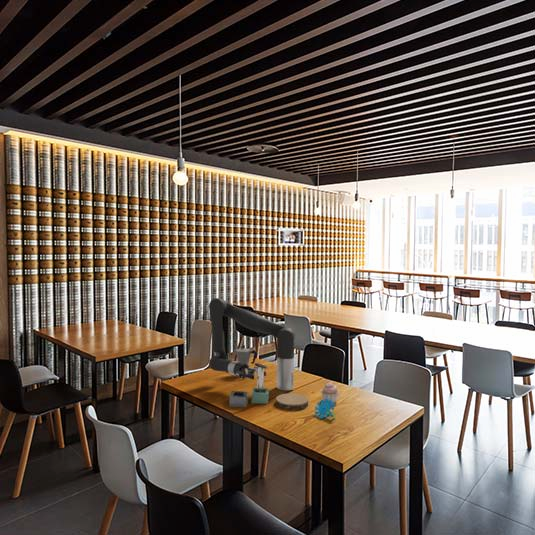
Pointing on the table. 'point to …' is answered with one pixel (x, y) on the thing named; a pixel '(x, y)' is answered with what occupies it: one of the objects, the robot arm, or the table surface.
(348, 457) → the table surface
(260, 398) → the key holder
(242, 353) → the coffeepot
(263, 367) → the chuck key
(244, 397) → the chuck block
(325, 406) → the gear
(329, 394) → the cupcake
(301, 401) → the wood slice
